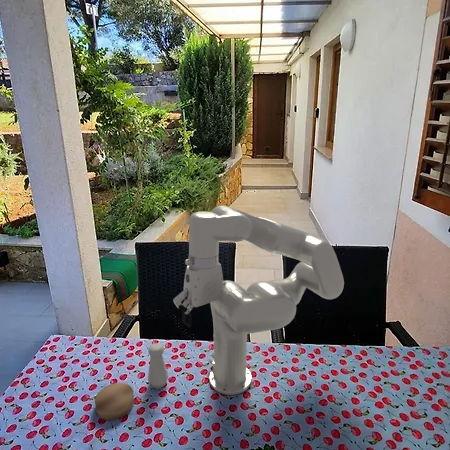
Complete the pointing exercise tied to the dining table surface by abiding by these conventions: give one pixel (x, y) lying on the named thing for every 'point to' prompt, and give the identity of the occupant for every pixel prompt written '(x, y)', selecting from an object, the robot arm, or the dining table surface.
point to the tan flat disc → (114, 401)
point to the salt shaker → (157, 366)
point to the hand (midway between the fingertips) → (202, 319)
